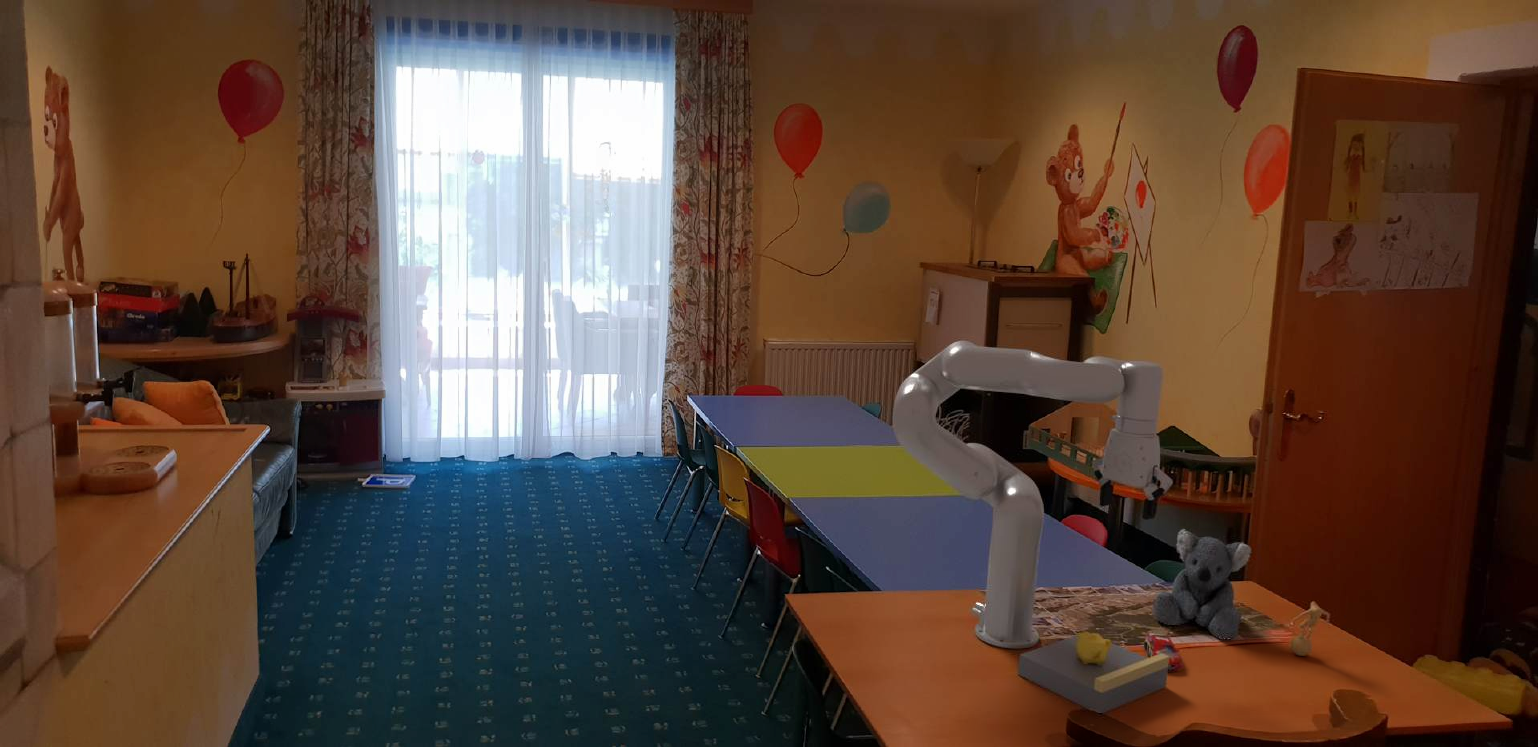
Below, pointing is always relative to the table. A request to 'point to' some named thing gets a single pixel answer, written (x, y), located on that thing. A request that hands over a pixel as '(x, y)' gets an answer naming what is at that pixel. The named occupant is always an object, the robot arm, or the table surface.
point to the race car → (1162, 649)
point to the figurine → (1302, 642)
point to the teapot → (1092, 648)
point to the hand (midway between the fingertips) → (1126, 511)
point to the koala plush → (1204, 585)
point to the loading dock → (1094, 674)
